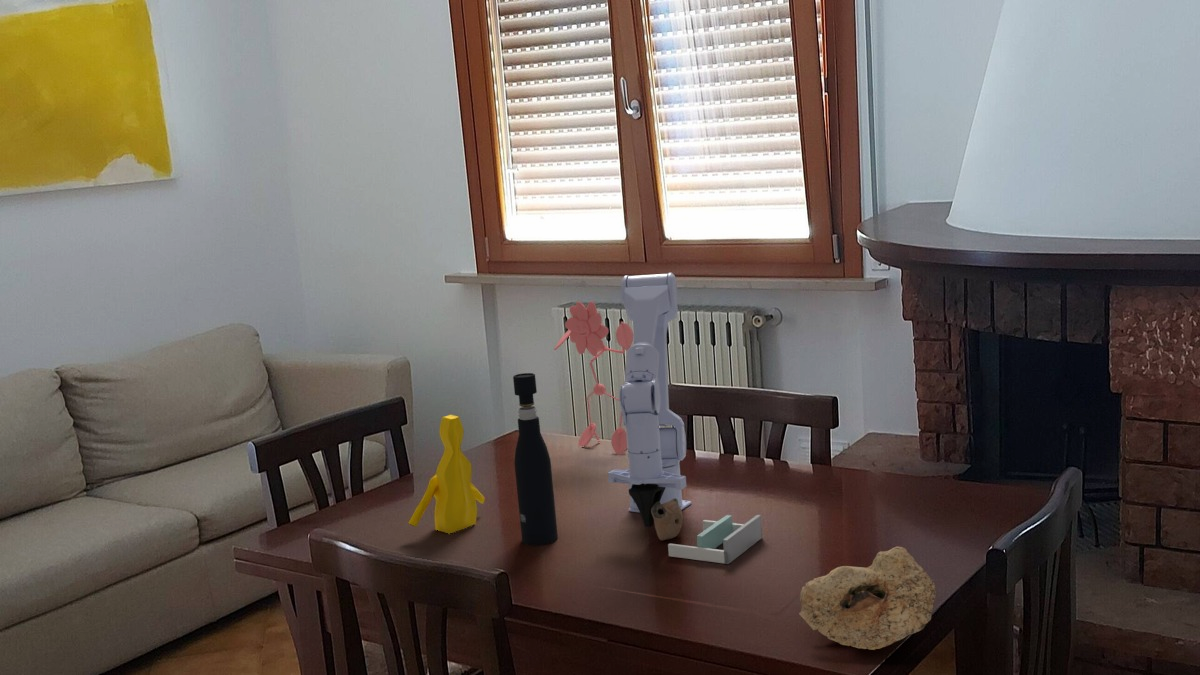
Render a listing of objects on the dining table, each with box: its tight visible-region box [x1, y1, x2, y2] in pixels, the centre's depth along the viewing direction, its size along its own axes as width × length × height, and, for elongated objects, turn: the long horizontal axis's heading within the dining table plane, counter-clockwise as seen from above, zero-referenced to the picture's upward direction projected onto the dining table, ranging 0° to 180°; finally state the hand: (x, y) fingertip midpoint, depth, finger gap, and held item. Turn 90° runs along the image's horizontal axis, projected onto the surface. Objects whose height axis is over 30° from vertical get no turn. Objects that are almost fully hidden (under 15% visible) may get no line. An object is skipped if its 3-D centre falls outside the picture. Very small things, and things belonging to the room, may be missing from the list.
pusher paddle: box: [696, 514, 734, 549], centre depth 196 cm, size 1×11×4 cm, turn 148°
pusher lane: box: [667, 514, 763, 565], centre depth 196 cm, size 11×13×4 cm
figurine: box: [553, 300, 634, 455], centre depth 257 cm, size 15×26×35 cm, turn 44°
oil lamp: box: [651, 498, 684, 541], centre depth 201 cm, size 9×4×8 cm, turn 150°
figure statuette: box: [407, 414, 486, 535], centre depth 215 cm, size 18×8×22 cm, turn 135°
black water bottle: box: [512, 372, 559, 547], centre depth 205 cm, size 6×6×30 cm
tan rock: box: [798, 546, 937, 651], centre depth 159 cm, size 18×14×8 cm
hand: (650, 525), depth 202 cm, fingers closed
